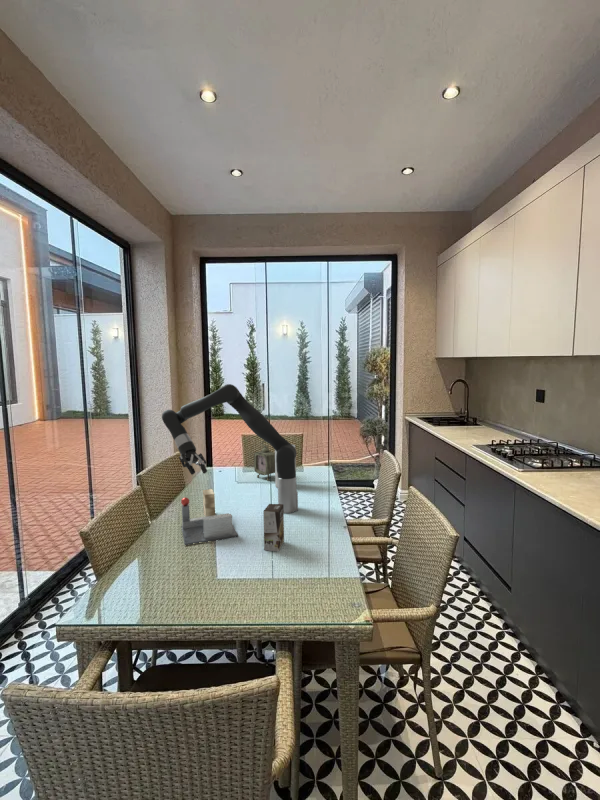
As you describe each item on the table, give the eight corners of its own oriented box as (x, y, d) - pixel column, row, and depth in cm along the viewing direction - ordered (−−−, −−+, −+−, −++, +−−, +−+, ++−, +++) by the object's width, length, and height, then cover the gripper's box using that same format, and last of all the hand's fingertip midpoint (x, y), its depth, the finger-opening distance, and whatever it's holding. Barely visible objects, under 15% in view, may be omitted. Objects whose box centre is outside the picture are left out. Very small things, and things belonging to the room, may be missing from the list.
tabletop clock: (254, 477, 259) (253, 440, 257) (265, 474, 265) (264, 438, 263) (267, 482, 249) (266, 443, 247) (278, 479, 255) (277, 441, 253)
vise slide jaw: (228, 519, 185) (227, 491, 184) (230, 521, 182) (229, 493, 181) (181, 526, 178) (180, 496, 177) (182, 529, 174) (181, 499, 173)
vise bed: (229, 520, 187) (228, 501, 186) (238, 537, 168) (237, 516, 167) (181, 527, 179) (180, 508, 178) (184, 545, 160) (183, 524, 159)
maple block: (212, 512, 198) (211, 489, 197) (215, 517, 190) (214, 493, 189) (203, 513, 196) (202, 490, 195) (205, 519, 189) (204, 494, 188)
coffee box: (279, 551, 154) (278, 511, 153) (263, 550, 155) (262, 510, 154) (284, 541, 163) (284, 503, 162) (269, 540, 164) (269, 502, 163)
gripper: (179, 440, 183) (194, 469, 177) (200, 440, 196) (214, 467, 190) (169, 449, 185) (184, 478, 179) (190, 449, 198) (204, 476, 192)
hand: (199, 473), depth 185 cm, fingers open, 8 cm apart
